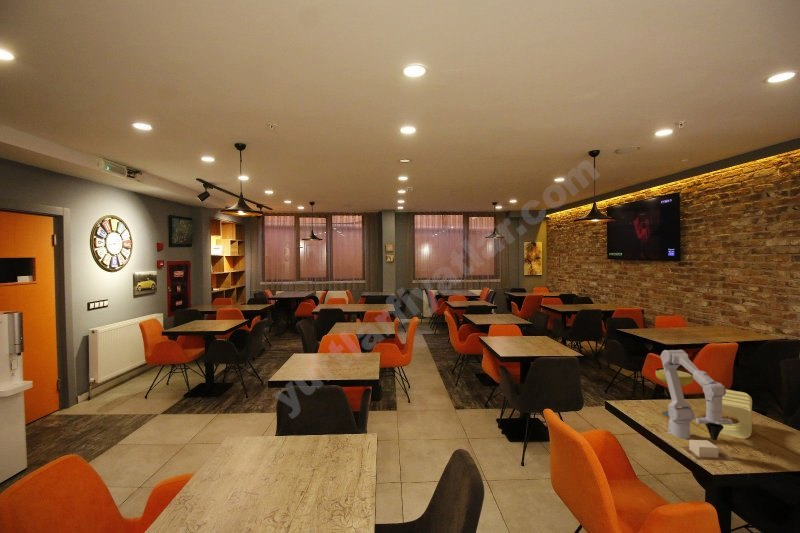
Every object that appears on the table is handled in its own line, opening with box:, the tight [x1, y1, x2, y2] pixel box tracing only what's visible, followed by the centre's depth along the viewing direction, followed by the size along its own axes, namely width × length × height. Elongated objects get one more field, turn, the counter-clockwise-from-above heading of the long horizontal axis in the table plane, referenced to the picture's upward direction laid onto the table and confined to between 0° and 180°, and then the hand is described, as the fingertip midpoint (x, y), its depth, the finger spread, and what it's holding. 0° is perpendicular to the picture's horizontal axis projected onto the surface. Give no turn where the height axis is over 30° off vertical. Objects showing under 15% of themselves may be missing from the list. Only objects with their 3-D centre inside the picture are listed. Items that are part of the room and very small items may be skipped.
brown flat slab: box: [681, 446, 736, 462], centre depth 179 cm, size 12×16×2 cm
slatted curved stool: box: [719, 388, 753, 439], centre depth 205 cm, size 30×16×18 cm, turn 138°
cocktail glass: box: [655, 367, 695, 418], centre depth 226 cm, size 18×18×25 cm
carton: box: [688, 439, 719, 458], centre depth 179 cm, size 7×4×8 cm
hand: (713, 439), depth 179 cm, fingers closed
